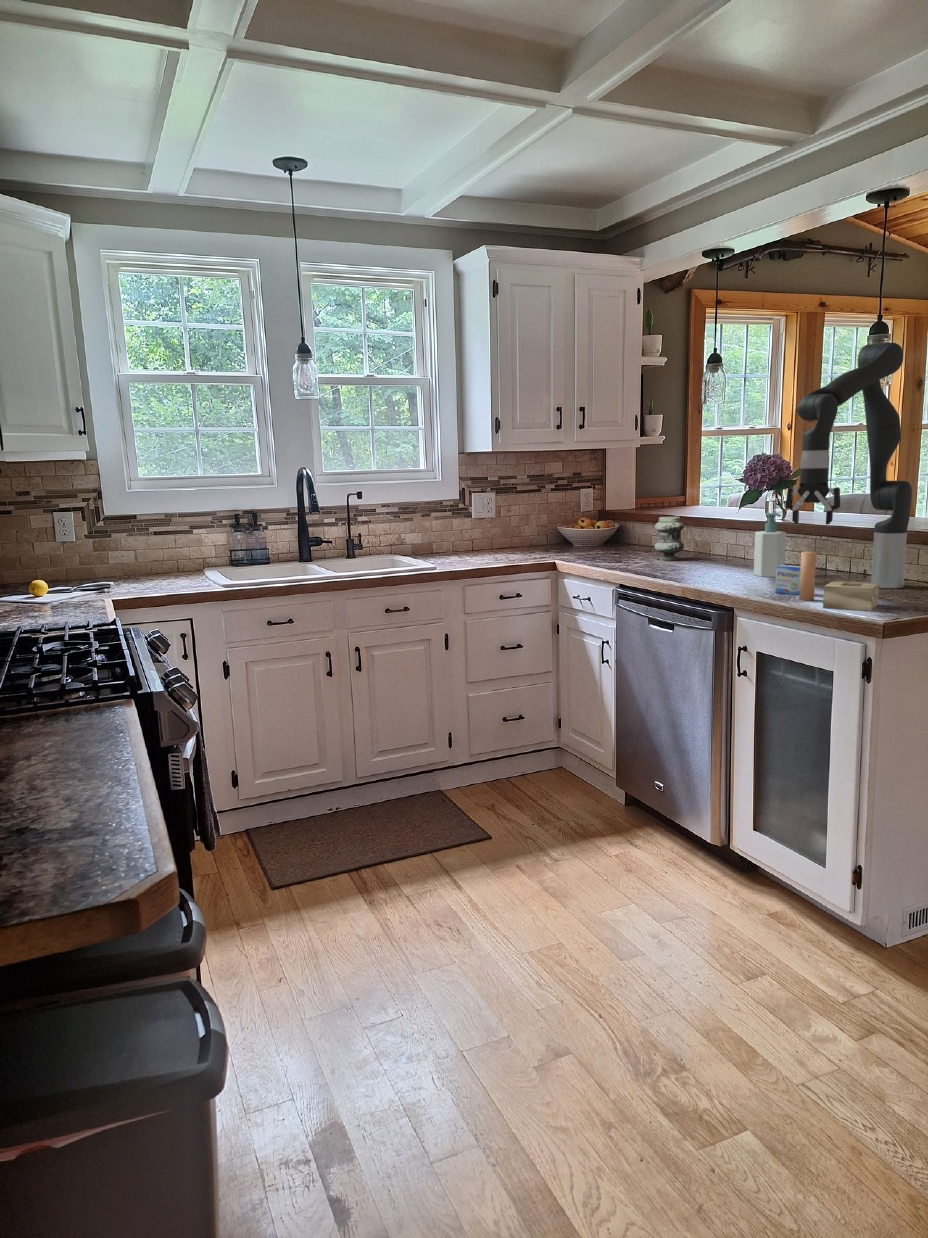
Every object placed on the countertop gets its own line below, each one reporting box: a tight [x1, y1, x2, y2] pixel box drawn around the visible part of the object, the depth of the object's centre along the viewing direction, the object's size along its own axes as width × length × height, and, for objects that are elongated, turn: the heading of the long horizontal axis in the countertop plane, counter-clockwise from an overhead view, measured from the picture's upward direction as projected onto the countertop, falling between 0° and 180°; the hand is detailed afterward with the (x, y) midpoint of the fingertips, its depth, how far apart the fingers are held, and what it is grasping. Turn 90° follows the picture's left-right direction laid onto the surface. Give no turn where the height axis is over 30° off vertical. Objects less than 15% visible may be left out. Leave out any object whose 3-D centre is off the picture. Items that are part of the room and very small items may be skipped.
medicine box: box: [774, 564, 801, 596], centre depth 260 cm, size 8×4×9 cm, turn 45°
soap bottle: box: [753, 512, 787, 578], centre depth 301 cm, size 10×9×22 cm
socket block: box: [822, 580, 880, 612], centre depth 236 cm, size 12×12×6 cm
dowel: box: [798, 551, 817, 602], centre depth 248 cm, size 4×4×14 cm
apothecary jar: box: [654, 516, 685, 561], centre depth 357 cm, size 12×12×18 cm
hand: (811, 524), depth 244 cm, fingers open, 8 cm apart
